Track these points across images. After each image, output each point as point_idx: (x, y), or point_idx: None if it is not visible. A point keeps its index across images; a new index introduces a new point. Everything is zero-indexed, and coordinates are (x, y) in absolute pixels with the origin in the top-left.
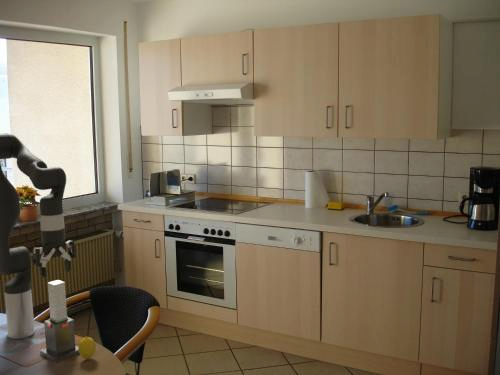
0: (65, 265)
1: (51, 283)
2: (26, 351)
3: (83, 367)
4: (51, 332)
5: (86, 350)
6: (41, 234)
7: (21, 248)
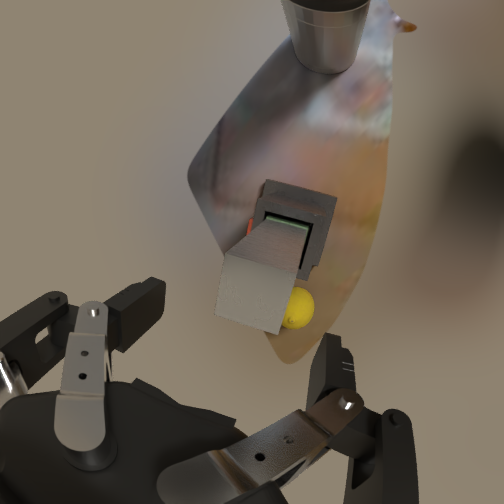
0: (320, 367)
1: (226, 284)
2: (264, 135)
3: None
4: None
5: None
6: None
7: None
